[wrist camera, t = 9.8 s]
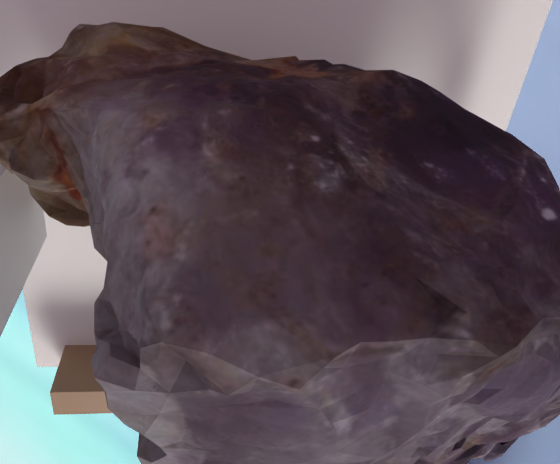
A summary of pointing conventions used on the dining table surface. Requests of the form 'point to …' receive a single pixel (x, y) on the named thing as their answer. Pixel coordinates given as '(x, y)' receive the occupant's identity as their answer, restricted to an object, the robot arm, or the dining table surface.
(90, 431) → the dining table surface
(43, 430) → the dining table surface
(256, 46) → the display stand
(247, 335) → the rock
